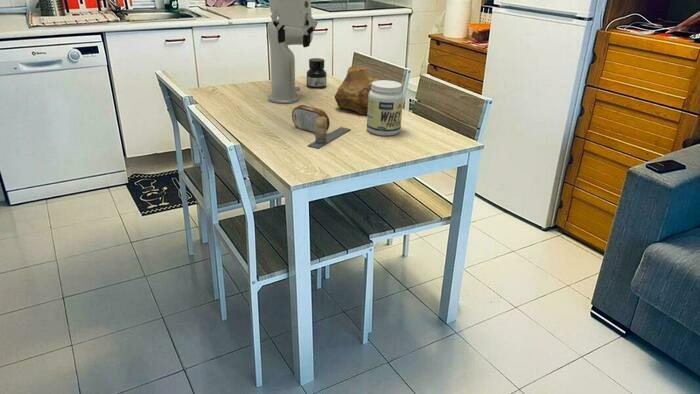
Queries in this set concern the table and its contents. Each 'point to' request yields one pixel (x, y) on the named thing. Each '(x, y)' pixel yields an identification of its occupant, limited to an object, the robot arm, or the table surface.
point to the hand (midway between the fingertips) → (293, 44)
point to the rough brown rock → (355, 90)
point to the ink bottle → (316, 73)
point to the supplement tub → (385, 108)
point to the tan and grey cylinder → (320, 130)
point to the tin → (307, 117)
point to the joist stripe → (330, 137)
